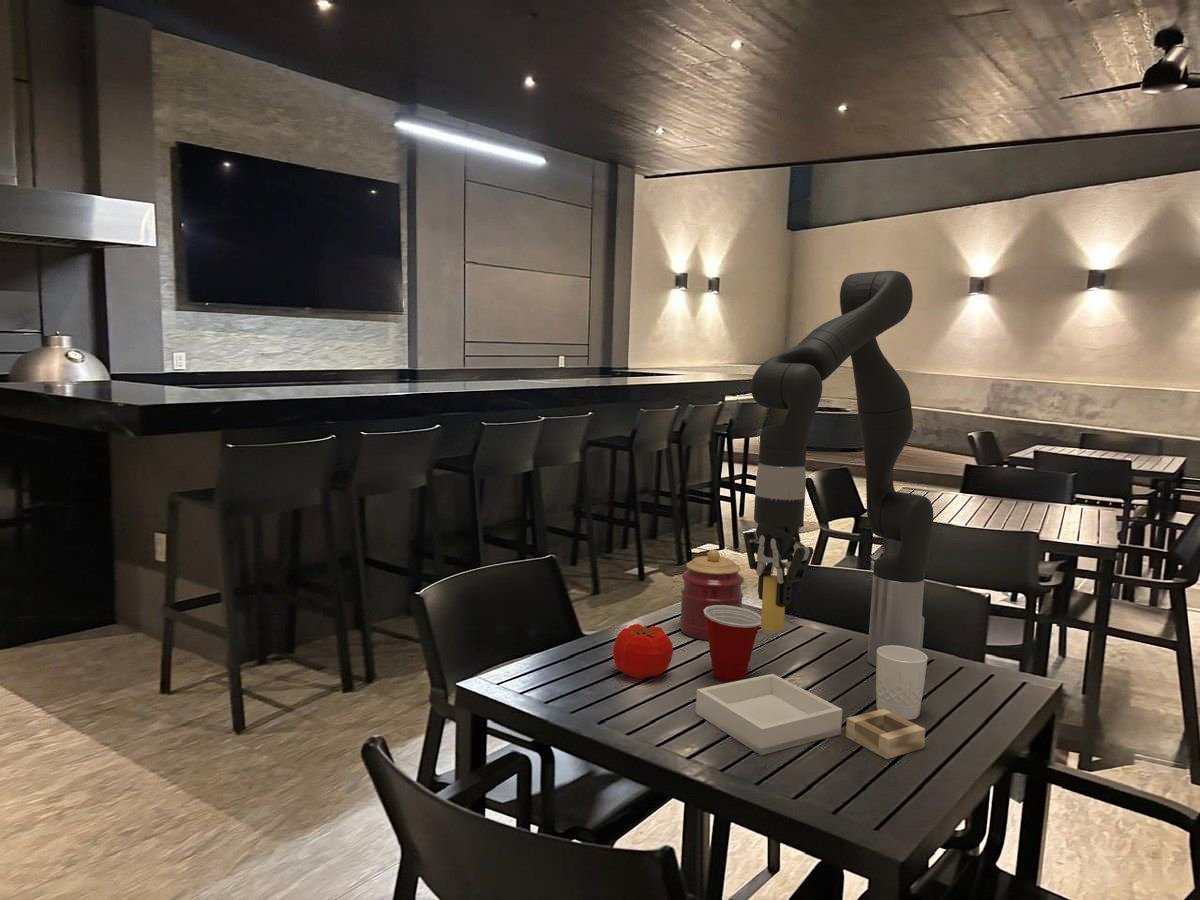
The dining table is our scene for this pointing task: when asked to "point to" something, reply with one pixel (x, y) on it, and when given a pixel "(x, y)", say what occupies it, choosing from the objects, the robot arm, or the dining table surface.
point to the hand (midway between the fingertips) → (773, 602)
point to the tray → (768, 713)
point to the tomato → (642, 651)
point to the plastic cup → (731, 640)
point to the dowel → (771, 606)
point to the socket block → (885, 733)
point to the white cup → (900, 680)
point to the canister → (708, 591)
